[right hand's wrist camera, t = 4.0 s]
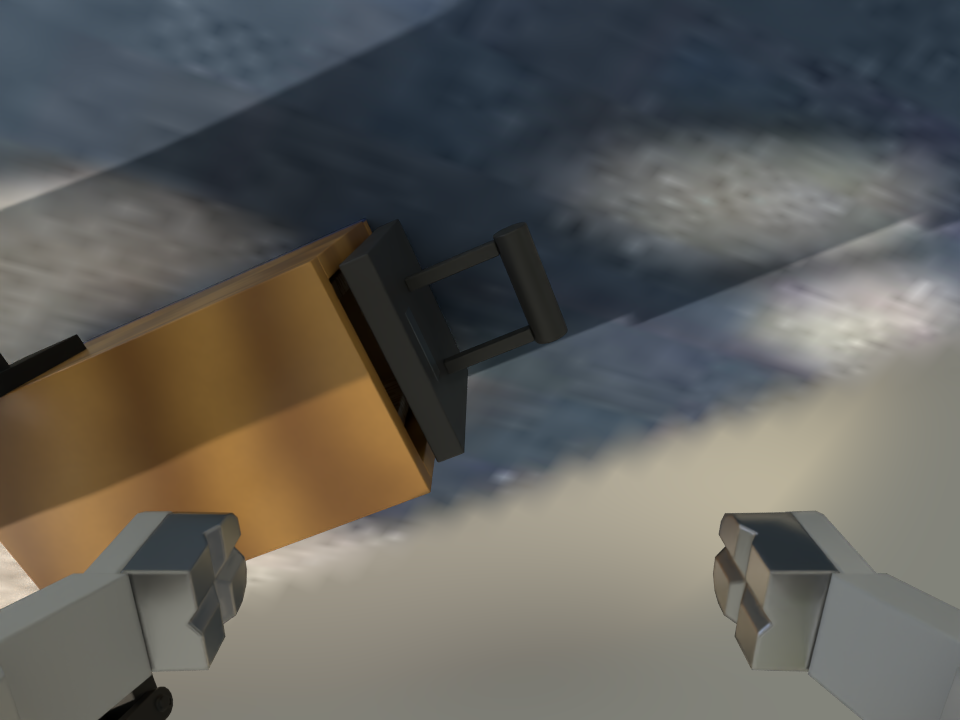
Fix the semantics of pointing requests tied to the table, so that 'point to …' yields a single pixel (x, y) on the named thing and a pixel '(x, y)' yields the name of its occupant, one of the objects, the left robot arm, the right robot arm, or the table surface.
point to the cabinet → (210, 421)
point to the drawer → (435, 323)
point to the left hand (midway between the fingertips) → (125, 450)
